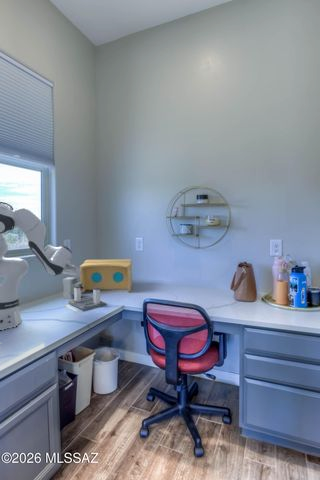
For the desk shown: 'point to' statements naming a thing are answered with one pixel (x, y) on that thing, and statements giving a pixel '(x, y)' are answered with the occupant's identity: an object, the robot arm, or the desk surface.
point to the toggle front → (96, 295)
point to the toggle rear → (77, 293)
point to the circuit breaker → (70, 287)
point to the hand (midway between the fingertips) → (77, 277)
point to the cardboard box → (106, 274)
